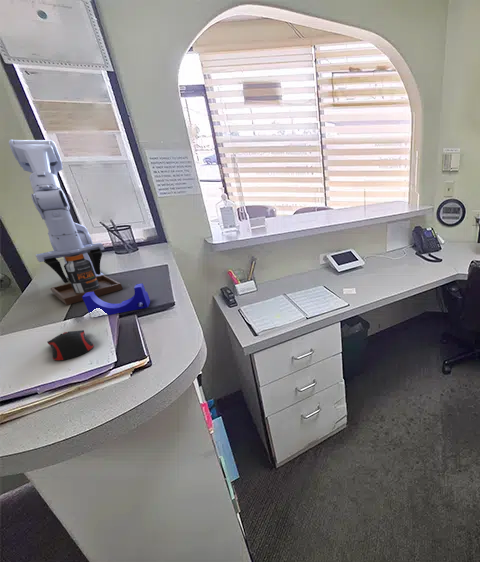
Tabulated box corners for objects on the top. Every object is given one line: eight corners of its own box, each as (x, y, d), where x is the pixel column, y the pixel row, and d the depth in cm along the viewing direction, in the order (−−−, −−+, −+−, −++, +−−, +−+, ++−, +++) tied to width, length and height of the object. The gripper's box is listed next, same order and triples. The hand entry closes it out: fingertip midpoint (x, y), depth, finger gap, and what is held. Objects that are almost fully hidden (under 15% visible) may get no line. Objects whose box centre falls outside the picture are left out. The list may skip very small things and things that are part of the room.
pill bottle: (85, 294, 92) (69, 258, 87) (69, 293, 93) (53, 257, 89) (105, 286, 97) (91, 252, 93) (90, 285, 98) (76, 251, 94)
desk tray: (53, 294, 94) (50, 287, 94) (106, 280, 104) (104, 274, 104) (66, 305, 86) (63, 298, 85) (122, 289, 96) (120, 283, 95)
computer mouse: (85, 333, 71) (79, 318, 69) (96, 349, 64) (89, 333, 63) (47, 345, 66) (39, 329, 65) (55, 364, 60) (46, 347, 58)
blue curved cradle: (150, 301, 87) (143, 281, 84) (147, 307, 83) (140, 286, 81) (96, 311, 82) (87, 290, 79) (91, 318, 78) (82, 296, 76)
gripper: (31, 241, 81) (53, 288, 86) (100, 230, 92) (116, 273, 97) (26, 238, 85) (47, 283, 90) (92, 228, 96) (108, 269, 101)
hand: (82, 278), depth 93 cm, fingers open, 7 cm apart
